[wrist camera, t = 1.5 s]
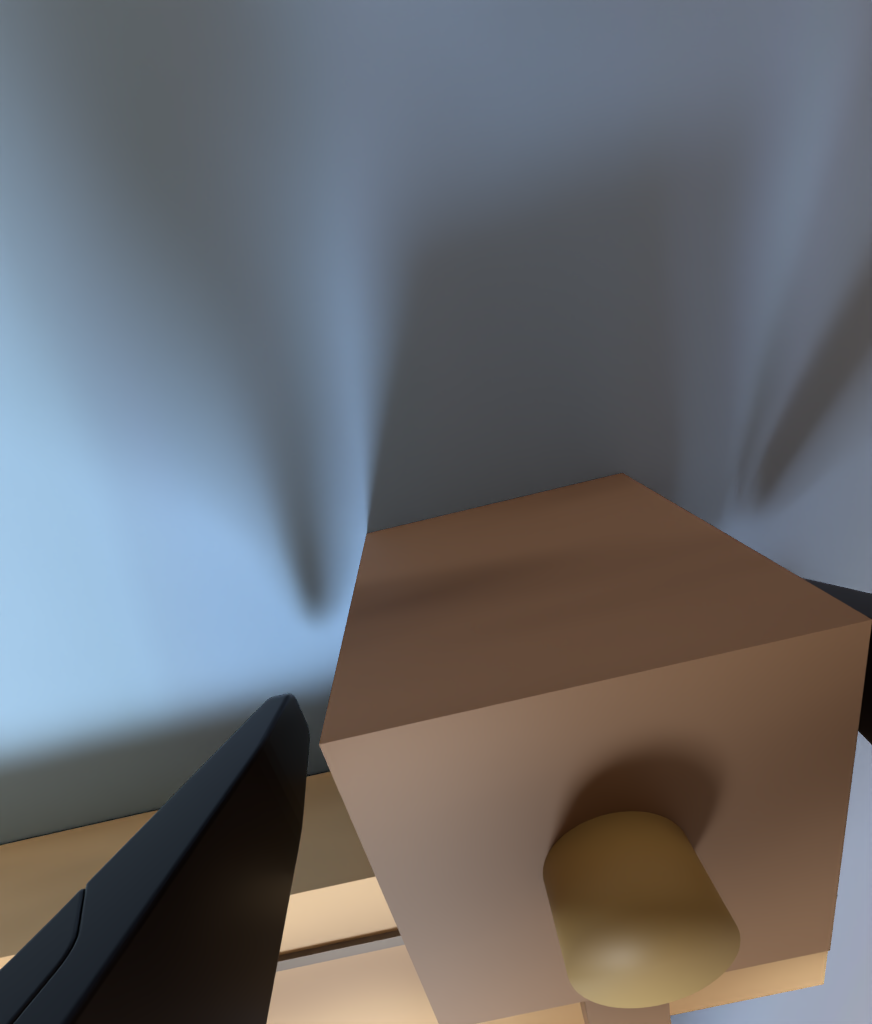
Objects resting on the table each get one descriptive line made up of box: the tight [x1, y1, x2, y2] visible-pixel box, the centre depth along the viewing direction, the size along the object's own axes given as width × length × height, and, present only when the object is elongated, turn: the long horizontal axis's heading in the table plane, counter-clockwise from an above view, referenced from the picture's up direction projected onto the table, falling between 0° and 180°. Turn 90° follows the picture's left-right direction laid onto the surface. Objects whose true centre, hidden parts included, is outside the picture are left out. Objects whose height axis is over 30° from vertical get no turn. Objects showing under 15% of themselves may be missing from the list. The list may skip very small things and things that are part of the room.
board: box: [0, 772, 828, 1024], centre depth 11 cm, size 7×24×3 cm, turn 103°
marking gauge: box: [319, 473, 872, 1024], centre depth 8 cm, size 10×5×6 cm, turn 13°
